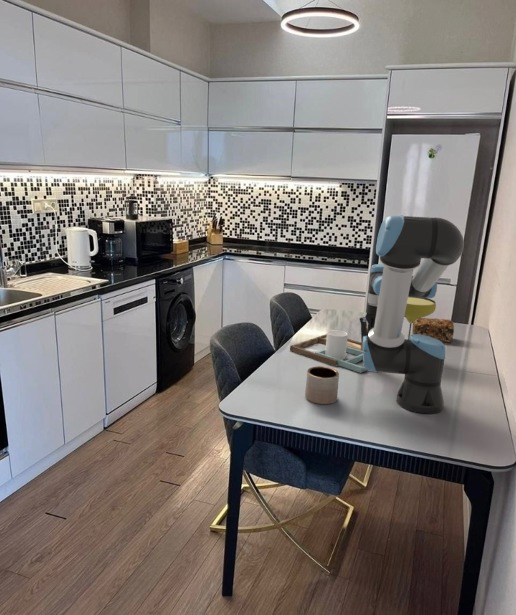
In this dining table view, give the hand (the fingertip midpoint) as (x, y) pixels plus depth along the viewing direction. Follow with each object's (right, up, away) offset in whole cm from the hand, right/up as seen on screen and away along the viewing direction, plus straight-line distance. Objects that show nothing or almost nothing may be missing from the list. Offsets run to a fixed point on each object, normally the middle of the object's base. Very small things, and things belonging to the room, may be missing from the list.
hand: (371, 360), depth 192 cm
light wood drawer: (-6, +4, +25) cm, 26 cm away
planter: (-24, -10, -29) cm, 39 cm away
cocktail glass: (+20, 0, +17) cm, 26 cm away
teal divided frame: (-8, -1, +8) cm, 11 cm away
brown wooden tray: (-13, +2, +19) cm, 23 cm away
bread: (+40, +6, +43) cm, 59 cm away
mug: (-12, 0, +12) cm, 17 cm away
